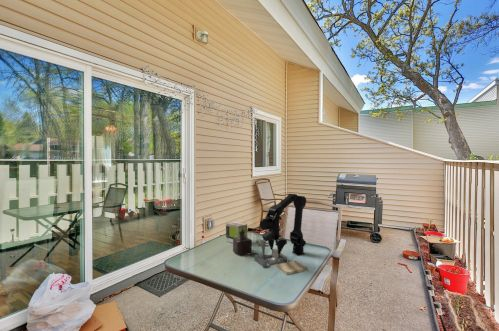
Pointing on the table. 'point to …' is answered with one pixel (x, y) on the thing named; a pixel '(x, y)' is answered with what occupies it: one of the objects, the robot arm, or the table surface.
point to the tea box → (234, 230)
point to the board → (291, 267)
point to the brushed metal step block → (273, 257)
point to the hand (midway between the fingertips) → (275, 251)
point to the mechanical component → (262, 245)
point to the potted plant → (242, 244)
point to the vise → (262, 259)
